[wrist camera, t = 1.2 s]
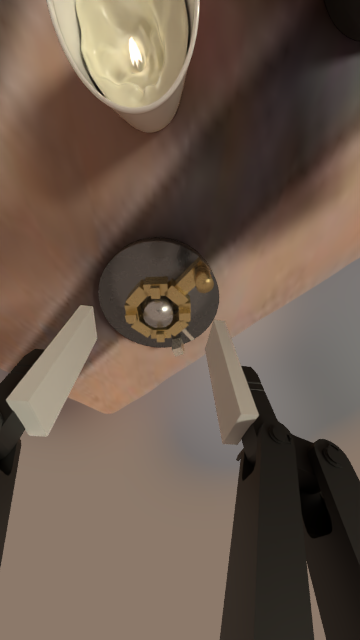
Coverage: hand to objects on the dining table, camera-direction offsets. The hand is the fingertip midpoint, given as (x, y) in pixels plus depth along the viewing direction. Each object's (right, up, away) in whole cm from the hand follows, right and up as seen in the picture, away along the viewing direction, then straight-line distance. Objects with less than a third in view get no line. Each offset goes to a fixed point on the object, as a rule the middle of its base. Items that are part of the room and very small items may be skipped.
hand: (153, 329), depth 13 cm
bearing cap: (-2, +5, +25) cm, 25 cm away
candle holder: (-2, +28, +9) cm, 29 cm away
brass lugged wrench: (0, +5, +21) cm, 21 cm away
